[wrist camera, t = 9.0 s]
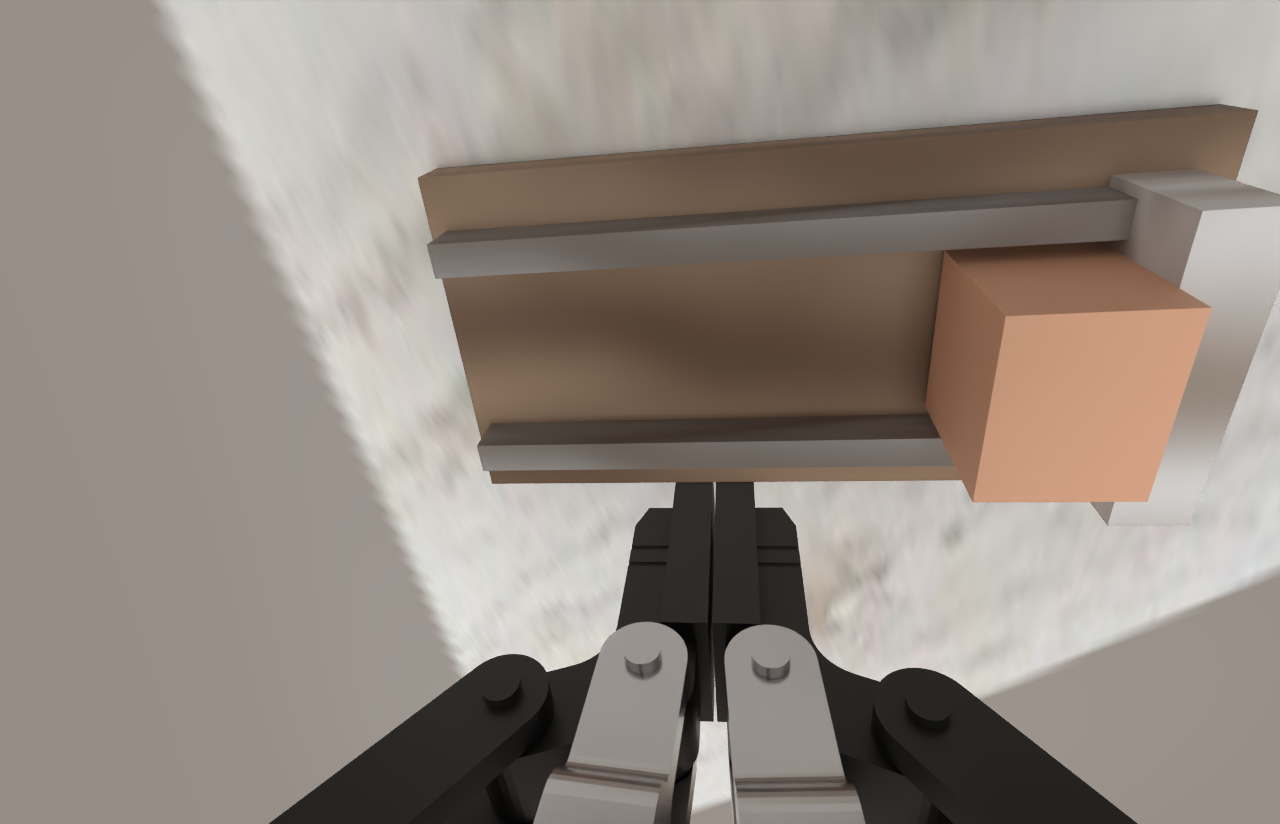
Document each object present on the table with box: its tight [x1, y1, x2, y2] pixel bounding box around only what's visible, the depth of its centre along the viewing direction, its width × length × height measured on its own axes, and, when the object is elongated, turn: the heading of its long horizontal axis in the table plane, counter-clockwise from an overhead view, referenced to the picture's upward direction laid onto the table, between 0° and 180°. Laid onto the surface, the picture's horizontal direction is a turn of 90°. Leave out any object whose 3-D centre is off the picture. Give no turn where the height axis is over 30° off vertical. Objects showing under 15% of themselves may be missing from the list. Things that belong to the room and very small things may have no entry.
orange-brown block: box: [925, 241, 1212, 502], centre depth 18 cm, size 5×4×5 cm
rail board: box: [418, 104, 1280, 526], centre depth 20 cm, size 11×22×6 cm, turn 96°
